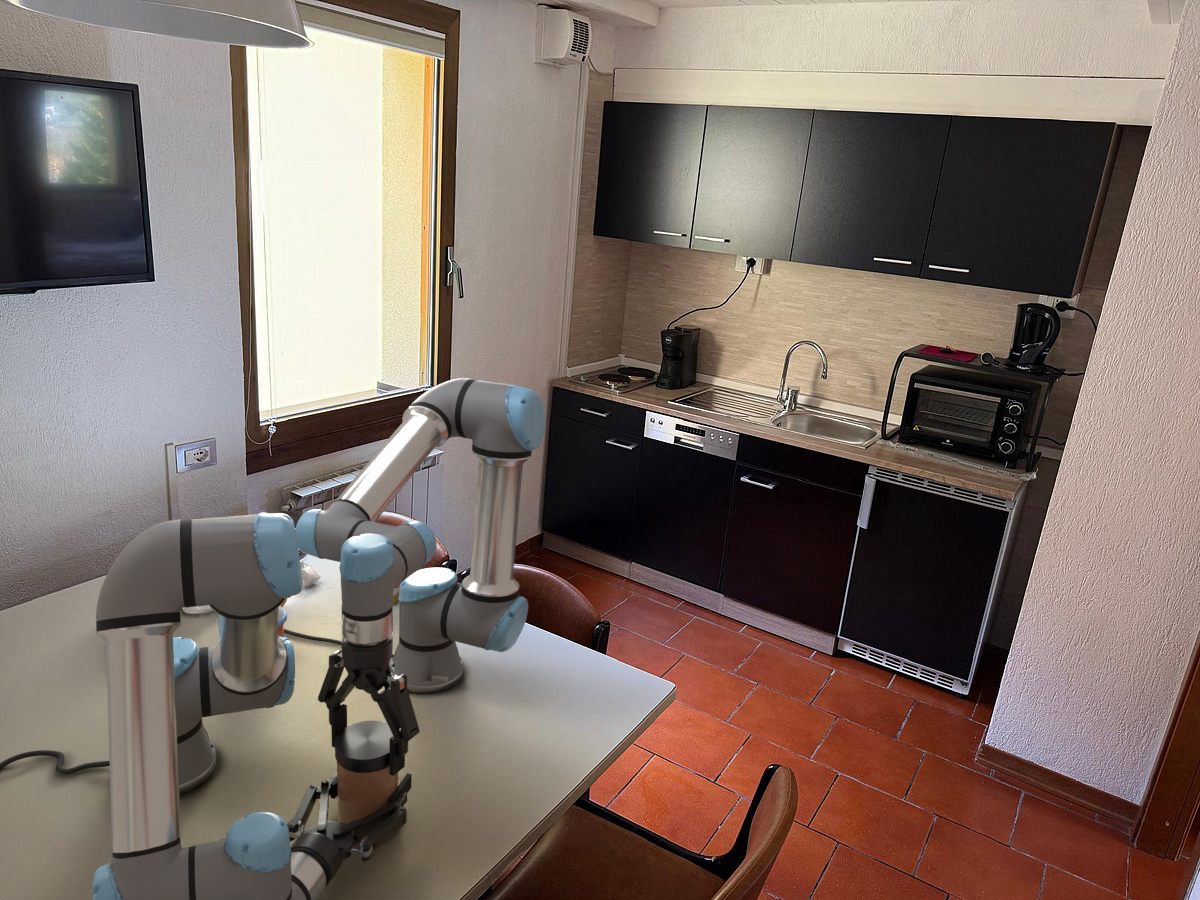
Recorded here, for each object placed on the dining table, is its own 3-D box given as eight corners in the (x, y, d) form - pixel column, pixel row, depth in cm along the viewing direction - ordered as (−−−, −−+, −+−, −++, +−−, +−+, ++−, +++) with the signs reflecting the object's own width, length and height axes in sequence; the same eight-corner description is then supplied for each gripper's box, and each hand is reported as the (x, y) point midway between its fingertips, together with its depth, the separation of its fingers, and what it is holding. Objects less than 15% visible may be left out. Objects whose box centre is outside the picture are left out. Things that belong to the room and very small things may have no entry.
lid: (327, 770, 131) (327, 758, 130) (344, 731, 140) (344, 718, 140) (393, 773, 131) (393, 761, 131) (405, 734, 141) (405, 721, 140)
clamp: (253, 565, 223) (254, 542, 221) (265, 560, 226) (266, 537, 224) (309, 593, 215) (310, 569, 213) (320, 588, 218) (321, 564, 216)
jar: (350, 799, 145) (349, 721, 140) (405, 806, 144) (406, 728, 139) (328, 839, 136) (326, 757, 131) (386, 847, 135) (387, 765, 130)
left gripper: (237, 873, 125) (321, 777, 146) (376, 912, 120) (442, 807, 141) (235, 831, 122) (320, 739, 143) (376, 869, 118) (443, 769, 139)
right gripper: (291, 621, 132) (295, 742, 138) (412, 670, 121) (410, 798, 128) (328, 603, 138) (330, 719, 144) (445, 648, 128) (442, 771, 134)
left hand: (381, 773), depth 142 cm, fingers closed on jar, 9 cm apart
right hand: (367, 756), depth 136 cm, fingers open, 11 cm apart
